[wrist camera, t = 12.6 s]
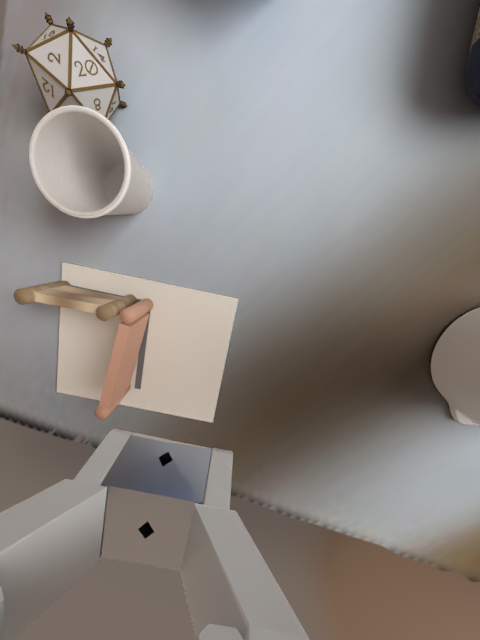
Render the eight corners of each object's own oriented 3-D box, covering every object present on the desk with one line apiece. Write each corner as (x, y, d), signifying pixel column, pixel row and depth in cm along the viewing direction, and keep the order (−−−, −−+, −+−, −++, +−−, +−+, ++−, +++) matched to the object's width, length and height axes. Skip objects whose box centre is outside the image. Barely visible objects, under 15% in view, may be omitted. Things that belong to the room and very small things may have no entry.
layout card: (238, 298, 35) (238, 299, 35) (213, 420, 40) (212, 423, 40) (64, 262, 35) (61, 262, 34) (58, 390, 39) (56, 392, 39)
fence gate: (143, 296, 35) (120, 307, 29) (155, 300, 35) (135, 312, 29) (118, 389, 38) (93, 416, 32) (129, 392, 39) (106, 420, 32)
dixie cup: (105, 232, 34) (49, 227, 24) (82, 156, 32) (10, 117, 22) (172, 218, 33) (142, 206, 24) (153, 139, 31) (111, 91, 22)
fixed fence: (138, 295, 35) (111, 307, 29) (137, 307, 36) (110, 322, 29) (60, 279, 35) (13, 287, 28) (59, 291, 36) (13, 302, 29)
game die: (118, 97, 34) (116, -12, 25) (136, 160, 32) (141, 69, 23) (28, 88, 30) (-14, -45, 21) (45, 158, 29) (9, 50, 20)
